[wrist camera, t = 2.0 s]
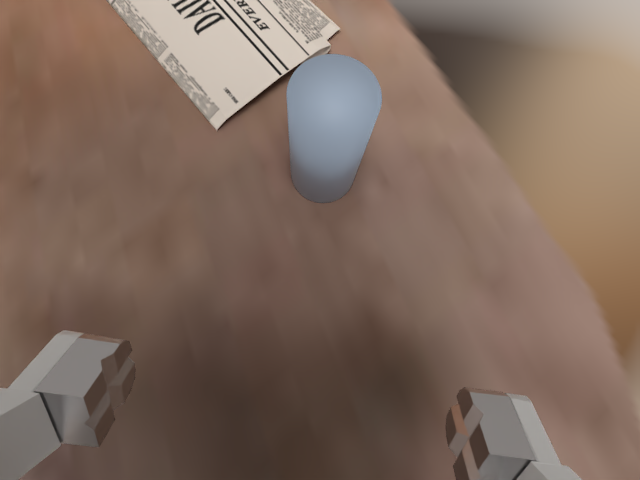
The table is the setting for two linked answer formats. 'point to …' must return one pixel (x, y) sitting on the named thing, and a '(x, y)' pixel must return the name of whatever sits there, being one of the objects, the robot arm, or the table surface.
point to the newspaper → (227, 45)
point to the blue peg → (330, 123)
